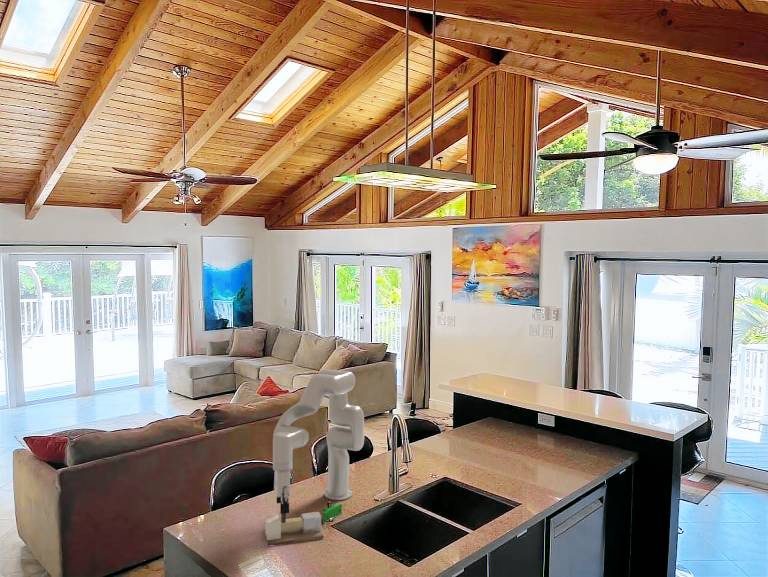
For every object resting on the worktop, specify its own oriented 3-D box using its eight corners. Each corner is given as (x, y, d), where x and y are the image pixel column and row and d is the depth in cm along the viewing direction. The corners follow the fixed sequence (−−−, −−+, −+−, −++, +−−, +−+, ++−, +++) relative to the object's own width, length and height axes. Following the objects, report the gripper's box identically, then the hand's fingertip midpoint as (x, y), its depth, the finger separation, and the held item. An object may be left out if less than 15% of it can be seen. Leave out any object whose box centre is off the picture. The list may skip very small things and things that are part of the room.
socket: (265, 531, 225) (265, 515, 225) (277, 530, 227) (278, 514, 227) (267, 540, 219) (267, 523, 218) (280, 538, 220) (280, 521, 220)
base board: (264, 532, 228) (264, 529, 228) (316, 525, 234) (316, 522, 234) (268, 546, 216) (268, 543, 216) (323, 538, 223) (323, 535, 223)
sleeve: (301, 528, 229) (301, 513, 228) (318, 526, 231) (318, 511, 231) (303, 533, 224) (303, 519, 224) (321, 531, 226) (321, 516, 226)
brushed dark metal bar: (272, 528, 224) (272, 500, 224) (305, 524, 228) (305, 496, 228) (273, 532, 221) (273, 503, 221) (306, 527, 225) (307, 499, 225)
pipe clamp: (334, 512, 248) (335, 501, 247) (341, 514, 245) (342, 503, 245) (317, 521, 238) (318, 510, 238) (324, 523, 236) (325, 512, 236)
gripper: (269, 458, 230) (269, 500, 231) (276, 473, 213) (276, 519, 214) (288, 456, 232) (288, 497, 233) (296, 471, 216) (296, 516, 217)
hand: (282, 507), depth 224 cm, fingers open, 9 cm apart
